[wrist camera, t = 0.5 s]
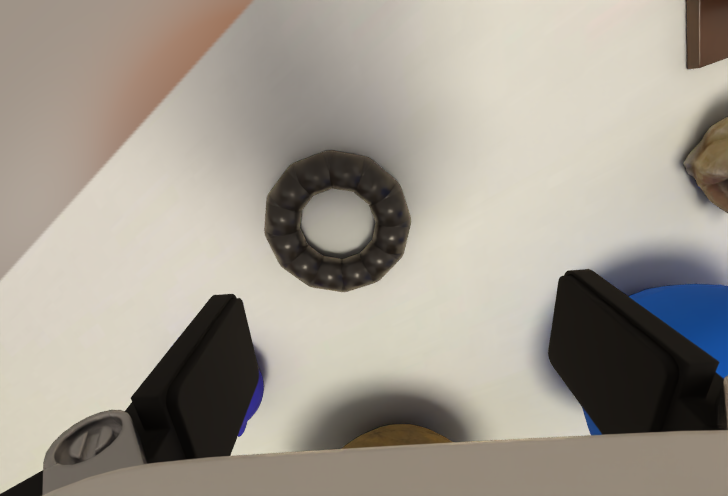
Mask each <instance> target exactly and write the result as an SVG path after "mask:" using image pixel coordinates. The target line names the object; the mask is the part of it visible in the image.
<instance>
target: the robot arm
mask: <svg viewBox="0 0 728 496" xmlns="http://www.w3.org/2000/svg"><path fill="white" fill-rule="evenodd" d="M548 355H549V360H550V362H551V364H552V366H553V367H554V369H555V370H556V371H557V373H558V374H559V376H560V377H561V378H562V380H563V381H564V382H565V384H566V385H567V387H568V388H569V389H570V391H571V392H572V393H573V395H574V396H575V398H576V399H577V400H578V402H579V403H580V404H581V406H582V407H583V409H584V410H585V411H586V413H587V414H588V415H589V417H590V418H591V420H592V421H593V422H594V424H595V425H596V426H597V428H598V429H599V431H600V432H601V433H602V435H588V436H568V437H548V438H528V439H508V440H490V441H471V442H453V443H435V444H417V445H400V446H382V447H365V448H349V449H333V450H317V451H301V452H285V453H268V454H253V455H237V456H230V455H231V452H232V449H233V447H234V444H235V442H236V439H237V436H238V434H239V431H240V429H241V426H242V423H243V421H244V418H245V415H246V413H247V410H248V408H249V405H250V402H251V400H252V397H253V395H254V392H255V389H256V387H257V384H258V381H259V369H258V364H257V360H256V356H255V352H254V348H253V343H252V339H251V335H250V331H249V326H248V322H247V318H246V314H245V310H244V305H243V302H242V300H241V299H240V298H236V296H235V295H234V294H224V295H213V296H212V297H211V298H210V299H209V301H208V302H207V303H206V304H205V306H204V307H203V308H202V309H201V311H200V312H199V313H198V314H197V316H196V317H195V318H194V319H193V321H192V322H191V323H190V324H189V326H188V327H187V328H186V329H185V331H184V332H183V333H182V334H181V336H180V337H179V338H178V339H177V341H176V342H175V343H174V344H173V346H172V347H171V348H170V349H169V351H168V352H167V353H166V354H165V356H164V357H163V358H162V359H161V361H160V362H159V363H158V364H157V366H156V367H155V368H154V369H153V371H152V372H151V373H150V374H149V376H148V377H147V378H146V379H145V381H144V382H143V383H142V384H141V386H140V387H139V388H138V389H137V391H136V392H135V393H134V394H133V396H132V397H131V400H132V403H131V404H130V405H129V407H128V408H127V409H126V410H125V411H122V410H108V411H104V412H100V413H97V414H94V415H92V416H89V417H87V418H85V419H83V420H82V421H80V422H78V423H76V424H74V425H73V426H72V427H70V428H69V429H68V430H66V431H65V432H63V433H62V434H61V435H60V436H59V437H58V438H57V439H56V440H55V441H54V442H53V443H52V445H51V446H50V448H49V449H48V451H47V452H46V455H45V458H44V462H43V471H41V472H39V473H37V474H35V475H34V476H32V477H30V478H28V479H26V480H25V481H23V482H21V483H19V484H18V485H16V486H14V487H12V488H10V489H9V490H7V491H5V492H3V493H1V494H0V496H728V375H727V376H726V377H725V378H723V377H721V376H720V375H719V374H717V373H716V370H717V367H718V364H719V361H718V360H716V359H715V358H713V357H712V356H711V355H709V354H708V353H706V352H705V351H704V350H702V349H701V348H699V347H698V346H697V345H695V344H694V343H692V342H691V341H690V340H688V339H687V338H686V337H684V336H683V335H681V334H680V333H679V332H677V331H676V330H674V329H673V328H672V327H670V326H669V325H667V324H666V323H665V322H663V321H662V320H660V319H659V318H658V317H656V316H655V315H654V314H652V313H651V312H649V311H648V310H647V309H645V308H644V307H642V306H641V305H640V304H638V303H637V302H635V301H634V300H633V299H631V298H630V297H628V296H627V295H626V294H624V293H623V292H621V291H620V290H619V289H617V288H616V287H615V286H613V285H612V284H610V283H609V282H608V281H606V280H605V279H603V278H602V277H601V276H599V275H598V274H596V273H595V272H594V271H592V270H590V269H585V270H571V271H567V272H566V273H565V275H564V276H561V277H560V278H559V281H558V288H557V295H556V302H555V309H554V316H553V323H552V330H551V336H550V343H549V350H548Z"/></svg>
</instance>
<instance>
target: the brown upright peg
mask: <svg viewBox="0 0 728 496" xmlns="http://www.w3.org/2000/svg"><path fill="white" fill-rule="evenodd" d="M726 58H728V0H687V68H688V69H695V68H701V67H704V66H706V65H709V64H712V63H715V62H717V61H720V60H723V59H726Z"/></svg>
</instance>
